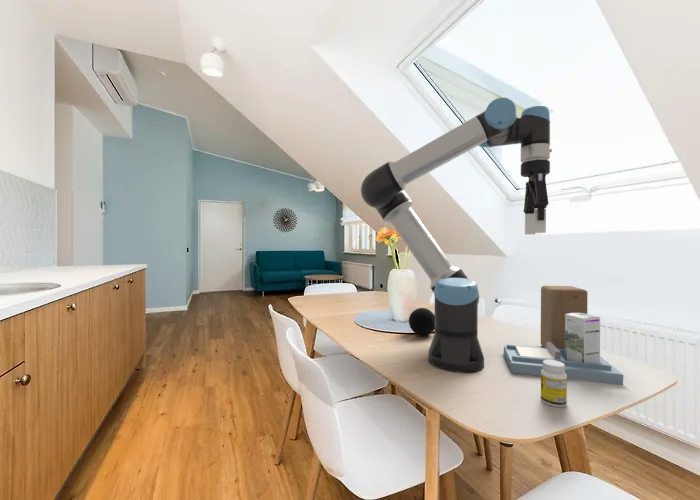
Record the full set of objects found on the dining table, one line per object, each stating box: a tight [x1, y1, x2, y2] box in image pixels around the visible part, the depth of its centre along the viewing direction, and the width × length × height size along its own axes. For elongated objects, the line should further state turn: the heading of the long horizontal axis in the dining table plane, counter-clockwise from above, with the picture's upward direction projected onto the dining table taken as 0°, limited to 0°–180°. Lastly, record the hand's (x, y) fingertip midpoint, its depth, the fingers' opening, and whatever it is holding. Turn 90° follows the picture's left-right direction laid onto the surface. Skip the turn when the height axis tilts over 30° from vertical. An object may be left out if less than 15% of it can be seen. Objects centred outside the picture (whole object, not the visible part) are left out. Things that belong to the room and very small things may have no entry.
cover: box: [515, 342, 561, 360], centre depth 90 cm, size 10×9×3 cm
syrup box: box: [565, 313, 601, 364], centre depth 87 cm, size 6×6×14 cm
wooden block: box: [540, 285, 588, 349], centre depth 103 cm, size 10×10×20 cm
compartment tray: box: [503, 343, 624, 386], centre depth 89 cm, size 24×16×4 cm, turn 71°
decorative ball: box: [408, 307, 435, 336], centre depth 121 cm, size 10×10×10 cm
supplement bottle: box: [540, 360, 568, 408], centre depth 69 cm, size 5×5×8 cm
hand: (534, 233), depth 96 cm, fingers open, 13 cm apart
